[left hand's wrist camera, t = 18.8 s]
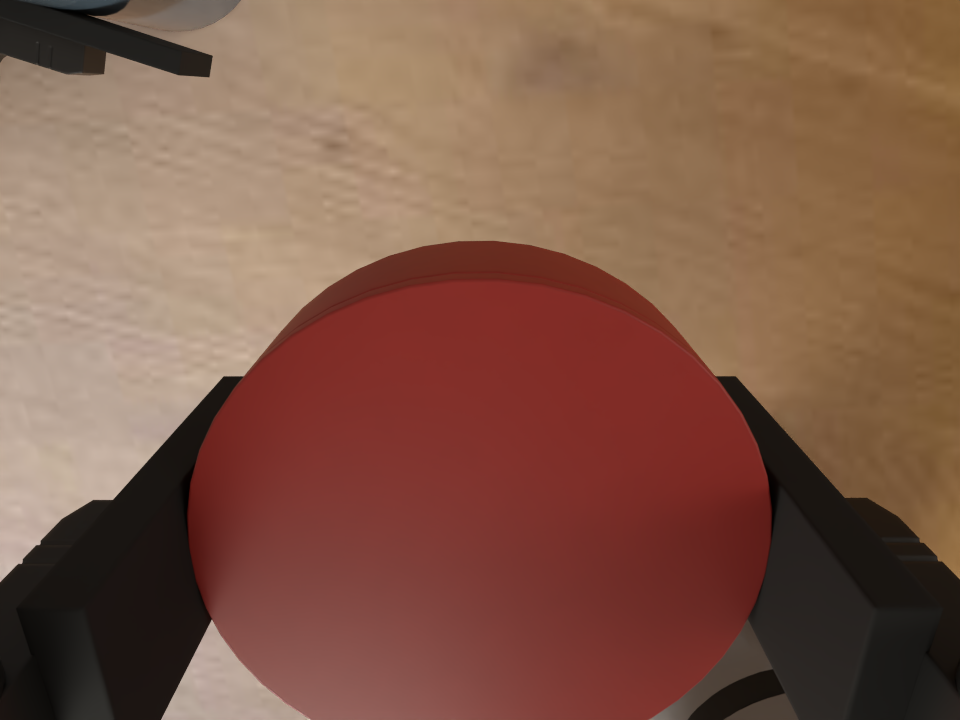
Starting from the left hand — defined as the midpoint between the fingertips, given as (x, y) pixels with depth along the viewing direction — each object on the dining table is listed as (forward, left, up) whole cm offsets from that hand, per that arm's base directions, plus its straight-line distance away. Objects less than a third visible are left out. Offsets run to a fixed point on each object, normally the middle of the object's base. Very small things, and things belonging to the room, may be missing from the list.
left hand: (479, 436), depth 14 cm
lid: (0, 0, +4) cm, 4 cm away
